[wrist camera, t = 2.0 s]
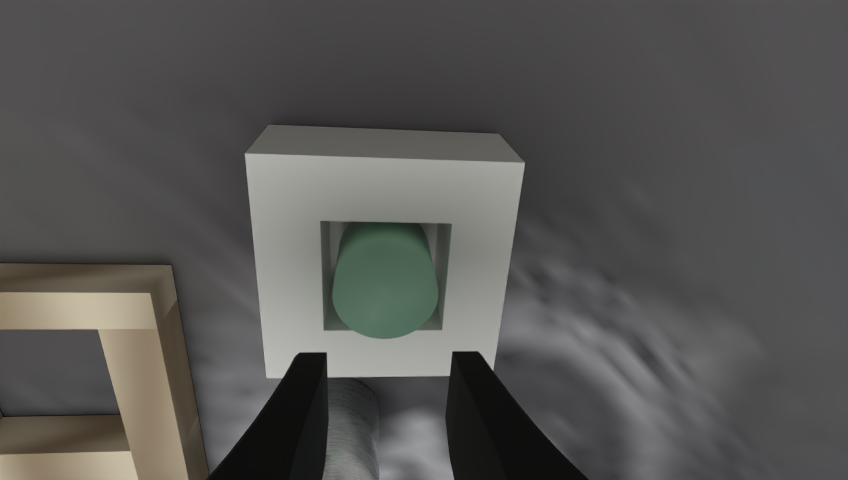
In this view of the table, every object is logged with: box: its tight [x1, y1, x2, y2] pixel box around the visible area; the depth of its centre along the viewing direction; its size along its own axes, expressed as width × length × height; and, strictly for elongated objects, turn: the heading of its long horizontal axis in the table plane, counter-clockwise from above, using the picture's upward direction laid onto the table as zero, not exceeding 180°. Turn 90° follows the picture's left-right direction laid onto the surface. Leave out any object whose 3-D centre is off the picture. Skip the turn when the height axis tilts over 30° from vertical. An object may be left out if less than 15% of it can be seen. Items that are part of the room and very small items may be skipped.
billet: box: [322, 377, 379, 480], centre depth 20 cm, size 4×4×6 cm
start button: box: [332, 222, 438, 339], centre depth 16 cm, size 3×3×3 cm
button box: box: [245, 125, 525, 378], centre depth 18 cm, size 8×8×4 cm
